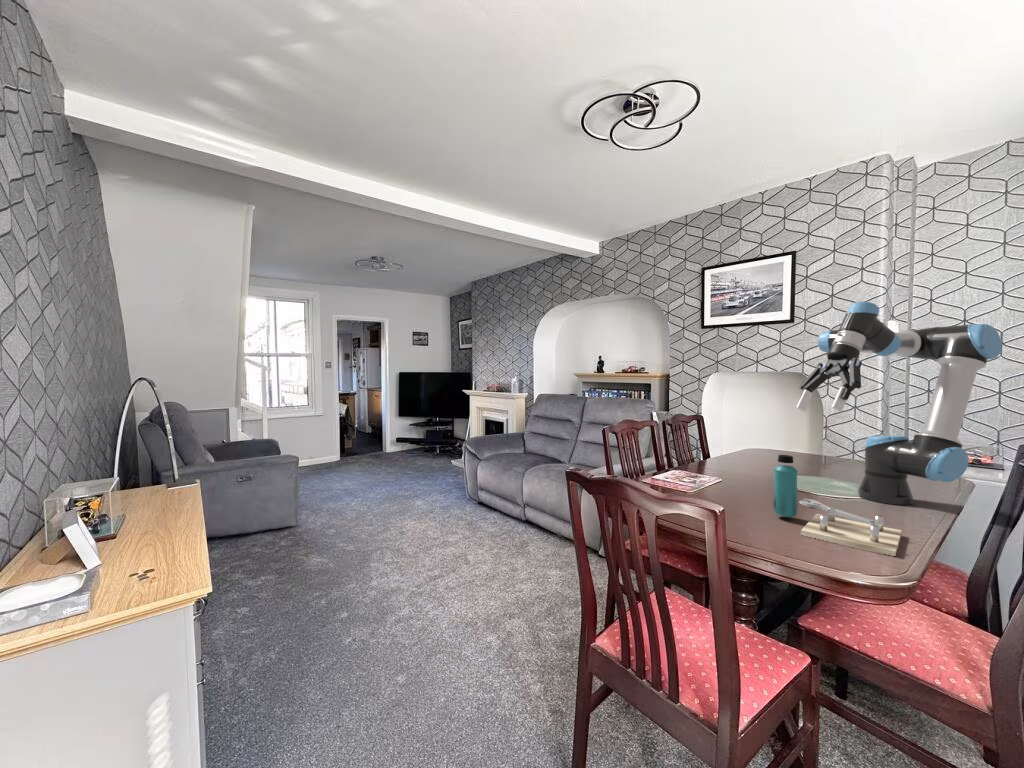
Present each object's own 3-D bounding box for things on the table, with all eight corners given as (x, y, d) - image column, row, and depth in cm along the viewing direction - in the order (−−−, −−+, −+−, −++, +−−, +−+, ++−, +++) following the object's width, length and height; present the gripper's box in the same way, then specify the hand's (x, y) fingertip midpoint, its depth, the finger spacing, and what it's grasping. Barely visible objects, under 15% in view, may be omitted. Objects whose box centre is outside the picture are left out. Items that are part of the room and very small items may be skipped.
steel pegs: (828, 519, 131) (828, 506, 131) (883, 530, 122) (883, 516, 122) (819, 530, 122) (819, 516, 122) (878, 543, 113) (878, 527, 113)
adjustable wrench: (882, 528, 129) (882, 522, 129) (865, 530, 128) (865, 524, 128) (809, 502, 154) (809, 497, 154) (794, 503, 153) (794, 498, 152)
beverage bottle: (802, 521, 133) (803, 457, 133) (781, 522, 133) (783, 457, 132) (787, 514, 140) (788, 453, 139) (767, 515, 139) (769, 453, 139)
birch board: (816, 518, 136) (816, 513, 136) (901, 535, 122) (901, 530, 122) (800, 535, 122) (801, 530, 122) (895, 557, 108) (895, 551, 108)
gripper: (804, 348, 145) (778, 404, 143) (872, 335, 120) (842, 402, 118) (823, 359, 146) (797, 415, 143) (895, 348, 121) (865, 415, 119)
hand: (817, 409), depth 131 cm, fingers open, 13 cm apart
